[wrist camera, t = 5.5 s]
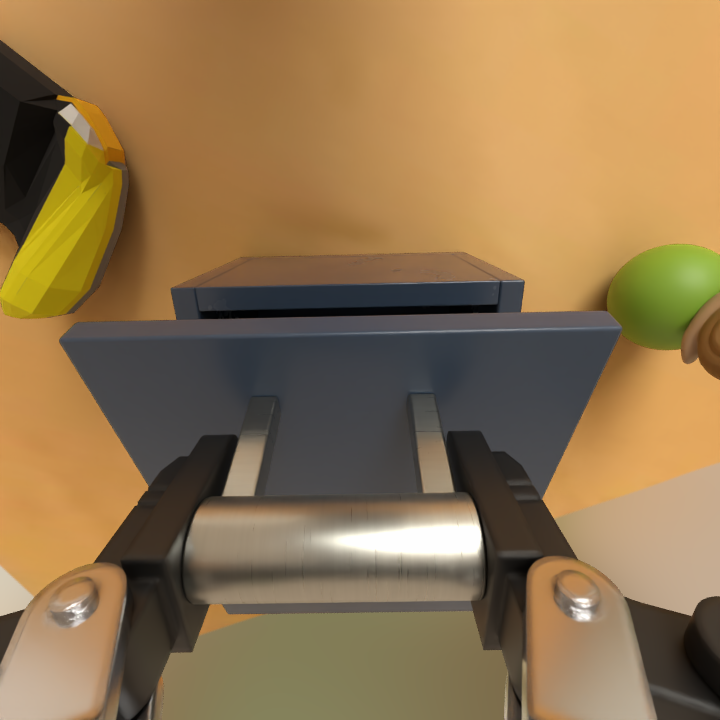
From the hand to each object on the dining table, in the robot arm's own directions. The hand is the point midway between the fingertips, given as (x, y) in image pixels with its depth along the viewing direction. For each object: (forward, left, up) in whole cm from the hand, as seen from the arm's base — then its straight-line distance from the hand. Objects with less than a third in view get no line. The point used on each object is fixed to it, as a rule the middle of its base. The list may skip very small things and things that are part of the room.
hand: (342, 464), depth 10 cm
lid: (+4, +2, -4) cm, 6 cm away
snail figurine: (-10, +13, -15) cm, 23 cm away
